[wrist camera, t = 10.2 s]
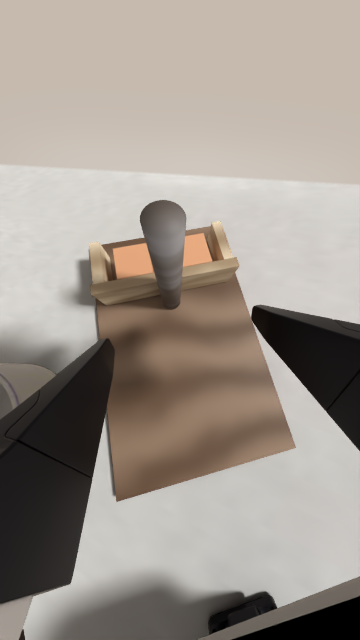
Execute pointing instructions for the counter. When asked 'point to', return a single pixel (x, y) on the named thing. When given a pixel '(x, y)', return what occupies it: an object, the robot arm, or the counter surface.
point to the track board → (187, 386)
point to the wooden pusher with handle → (163, 260)
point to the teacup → (20, 383)
